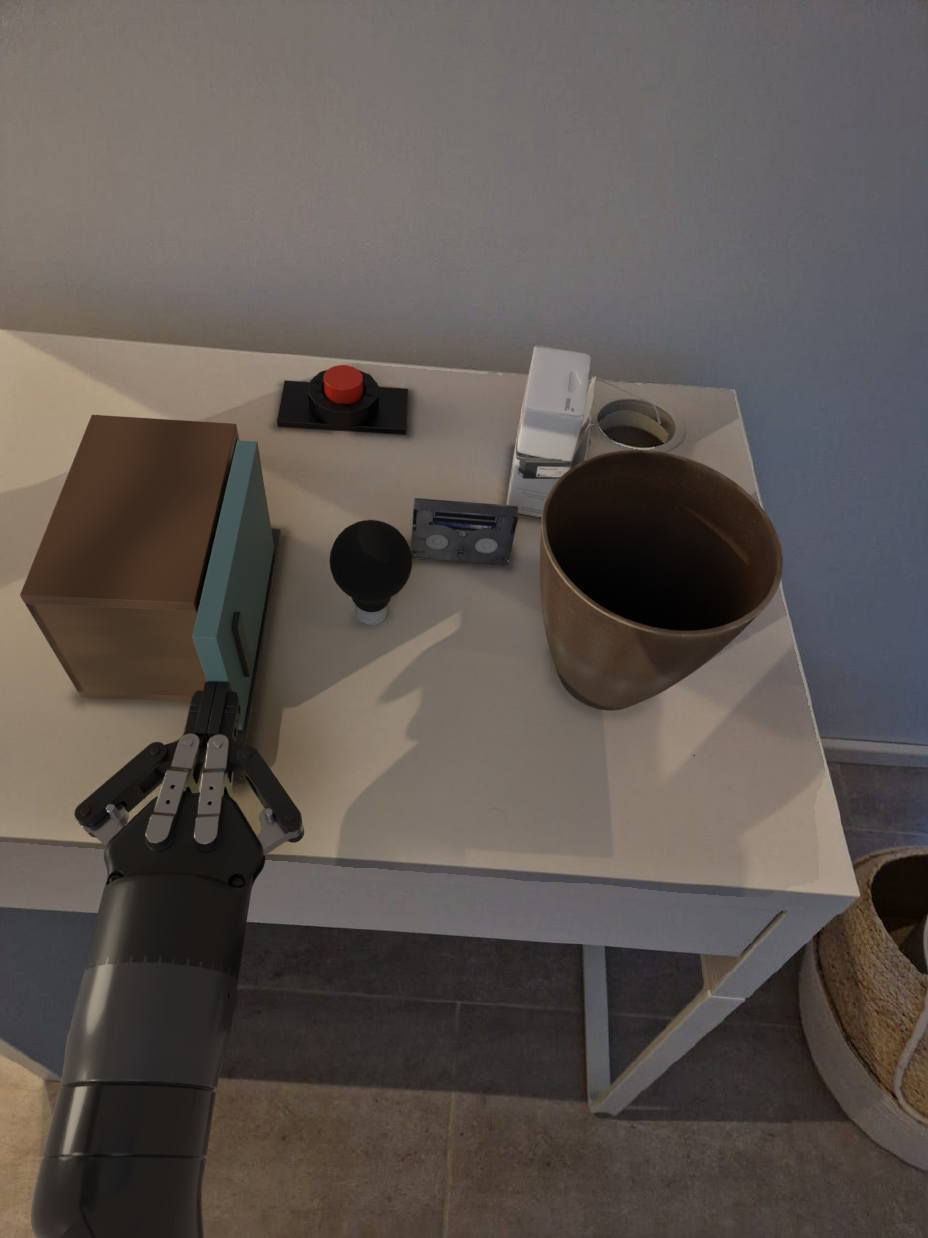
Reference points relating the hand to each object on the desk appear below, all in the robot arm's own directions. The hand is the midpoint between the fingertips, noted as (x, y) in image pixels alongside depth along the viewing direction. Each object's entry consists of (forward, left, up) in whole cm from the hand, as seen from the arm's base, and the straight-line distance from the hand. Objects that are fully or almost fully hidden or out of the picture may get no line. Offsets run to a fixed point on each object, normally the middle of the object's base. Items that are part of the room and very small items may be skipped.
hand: (219, 688), depth 50 cm
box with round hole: (+31, +31, -7) cm, 44 cm away
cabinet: (-5, +8, -7) cm, 11 cm away
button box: (+5, +35, -7) cm, 36 cm away
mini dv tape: (+16, +18, -7) cm, 25 cm away
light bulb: (+9, +11, -7) cm, 15 cm away
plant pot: (+27, +7, -7) cm, 29 cm away
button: (+5, +35, -5) cm, 36 cm away
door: (0, +8, -6) cm, 10 cm away
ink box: (+23, +27, -7) cm, 36 cm away
